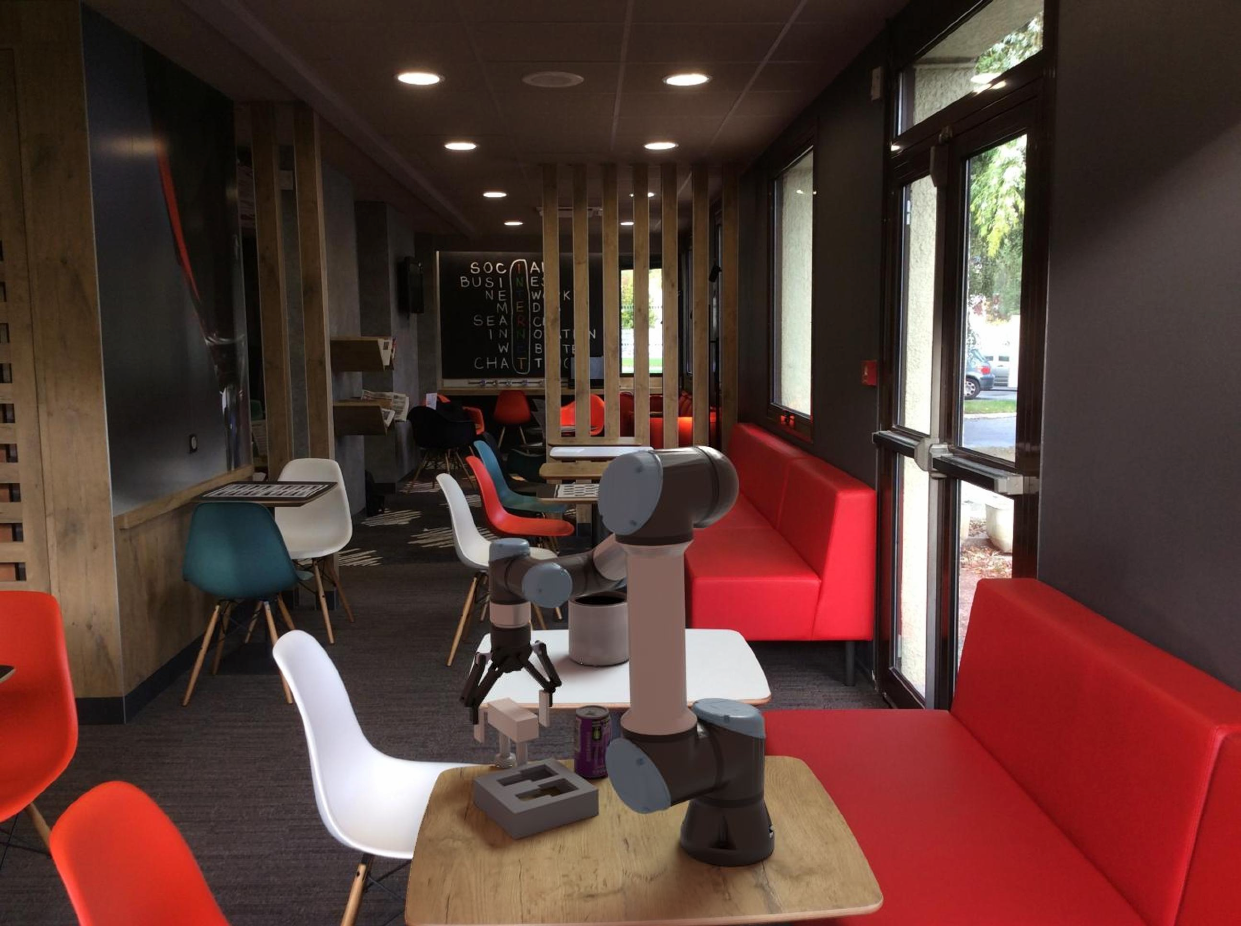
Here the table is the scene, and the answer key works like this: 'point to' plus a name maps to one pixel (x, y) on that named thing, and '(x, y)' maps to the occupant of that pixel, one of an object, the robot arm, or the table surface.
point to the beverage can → (591, 740)
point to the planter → (599, 628)
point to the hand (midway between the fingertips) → (512, 732)
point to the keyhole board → (533, 816)
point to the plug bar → (512, 730)
